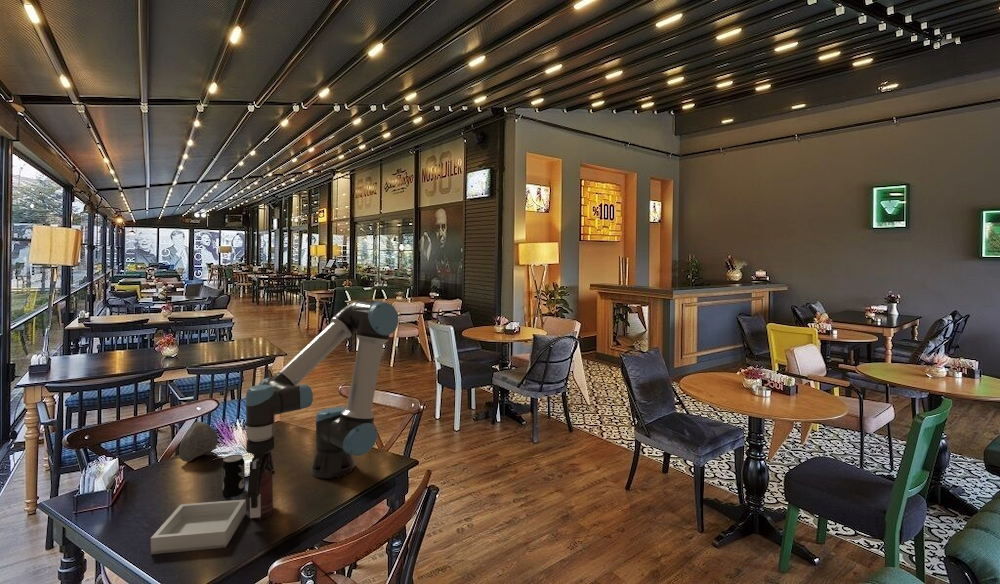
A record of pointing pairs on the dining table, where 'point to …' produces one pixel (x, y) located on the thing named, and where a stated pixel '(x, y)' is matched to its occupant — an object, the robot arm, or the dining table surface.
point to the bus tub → (199, 527)
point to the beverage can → (233, 475)
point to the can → (266, 494)
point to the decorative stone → (197, 441)
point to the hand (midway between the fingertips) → (261, 506)
